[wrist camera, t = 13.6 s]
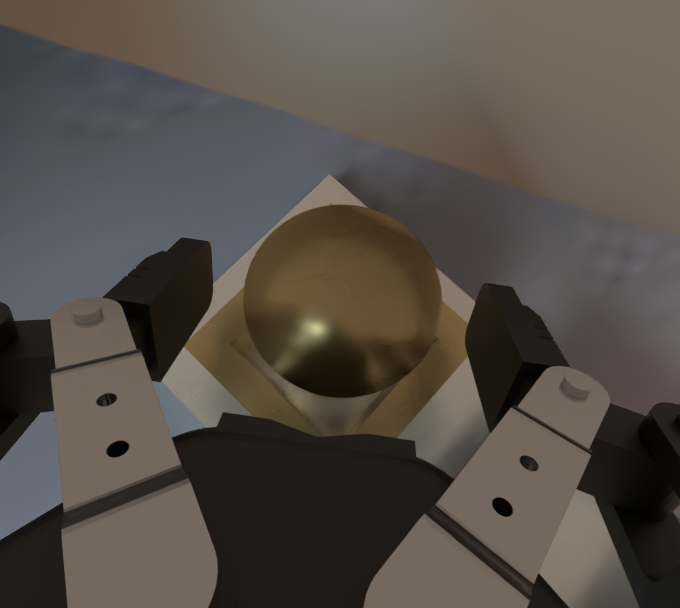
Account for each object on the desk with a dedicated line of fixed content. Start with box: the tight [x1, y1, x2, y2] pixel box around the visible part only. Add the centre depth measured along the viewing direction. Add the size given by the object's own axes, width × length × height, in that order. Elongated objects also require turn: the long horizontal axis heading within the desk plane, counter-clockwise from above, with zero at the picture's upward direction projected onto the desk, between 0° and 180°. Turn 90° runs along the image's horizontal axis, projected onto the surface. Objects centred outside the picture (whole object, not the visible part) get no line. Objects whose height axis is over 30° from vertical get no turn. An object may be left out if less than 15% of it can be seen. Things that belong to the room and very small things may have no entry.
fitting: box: [243, 204, 442, 399], centre depth 13 cm, size 4×4×10 cm
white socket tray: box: [162, 174, 680, 608], centre depth 16 cm, size 24×12×4 cm, turn 47°
